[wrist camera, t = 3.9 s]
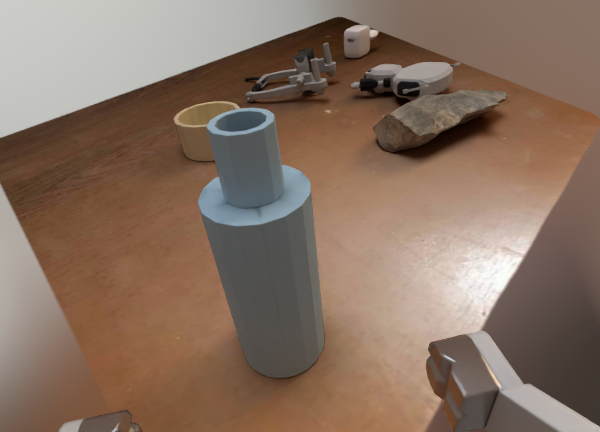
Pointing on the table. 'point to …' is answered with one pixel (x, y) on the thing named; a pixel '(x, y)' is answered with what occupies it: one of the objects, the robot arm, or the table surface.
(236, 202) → the bottle
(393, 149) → the stone tool
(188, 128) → the holder
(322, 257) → the table surface
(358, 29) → the power adapter
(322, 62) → the bike brake
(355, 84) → the robot toy
